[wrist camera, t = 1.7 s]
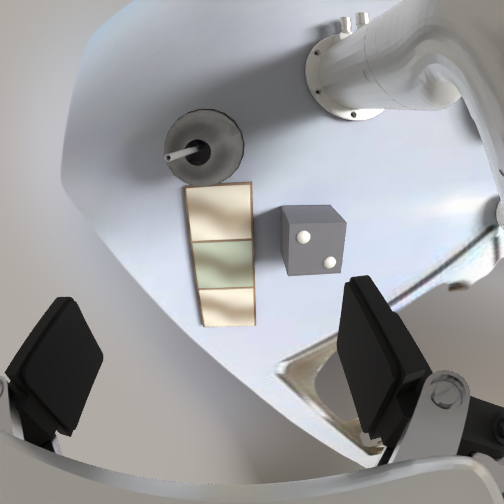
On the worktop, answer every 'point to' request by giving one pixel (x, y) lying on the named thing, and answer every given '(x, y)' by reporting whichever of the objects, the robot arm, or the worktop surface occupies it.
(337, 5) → the worktop surface
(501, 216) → the teacup
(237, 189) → the game track
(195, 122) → the beverage cup
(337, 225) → the die
